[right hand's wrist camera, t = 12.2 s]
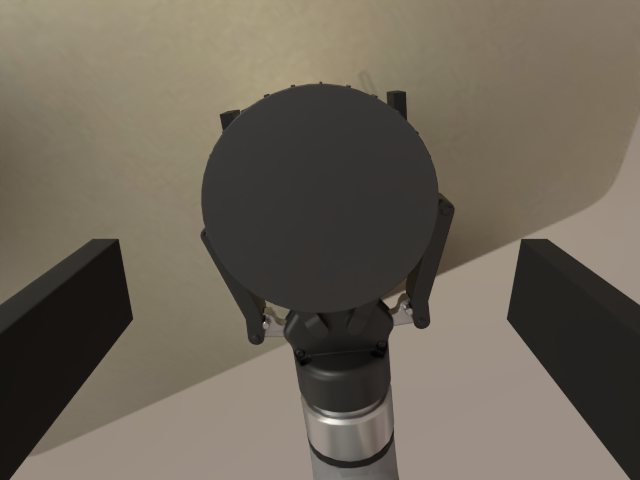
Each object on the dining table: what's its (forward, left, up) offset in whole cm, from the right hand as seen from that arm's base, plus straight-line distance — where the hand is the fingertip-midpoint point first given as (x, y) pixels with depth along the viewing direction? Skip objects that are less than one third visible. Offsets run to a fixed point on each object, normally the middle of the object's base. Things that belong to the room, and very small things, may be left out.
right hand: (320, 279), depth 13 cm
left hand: (-1, +4, -17) cm, 17 cm away
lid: (0, 0, -8) cm, 8 cm away
